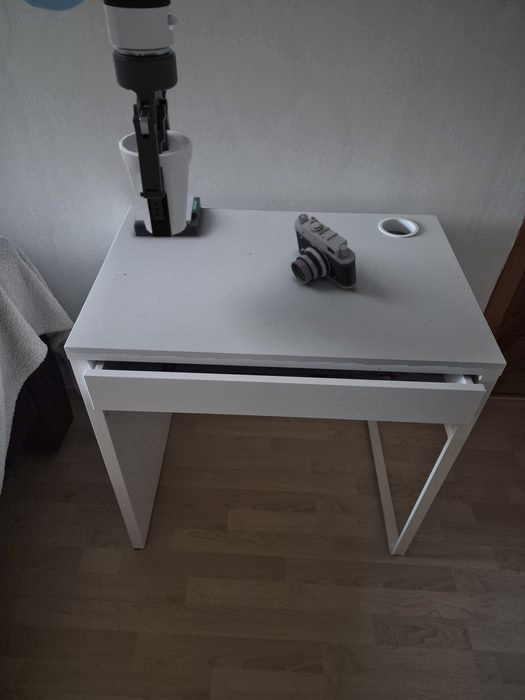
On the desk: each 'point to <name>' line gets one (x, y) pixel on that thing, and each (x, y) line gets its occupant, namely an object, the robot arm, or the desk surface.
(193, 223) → the scale
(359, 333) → the desk surface
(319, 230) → the camera
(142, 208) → the cup
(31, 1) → the robot arm
